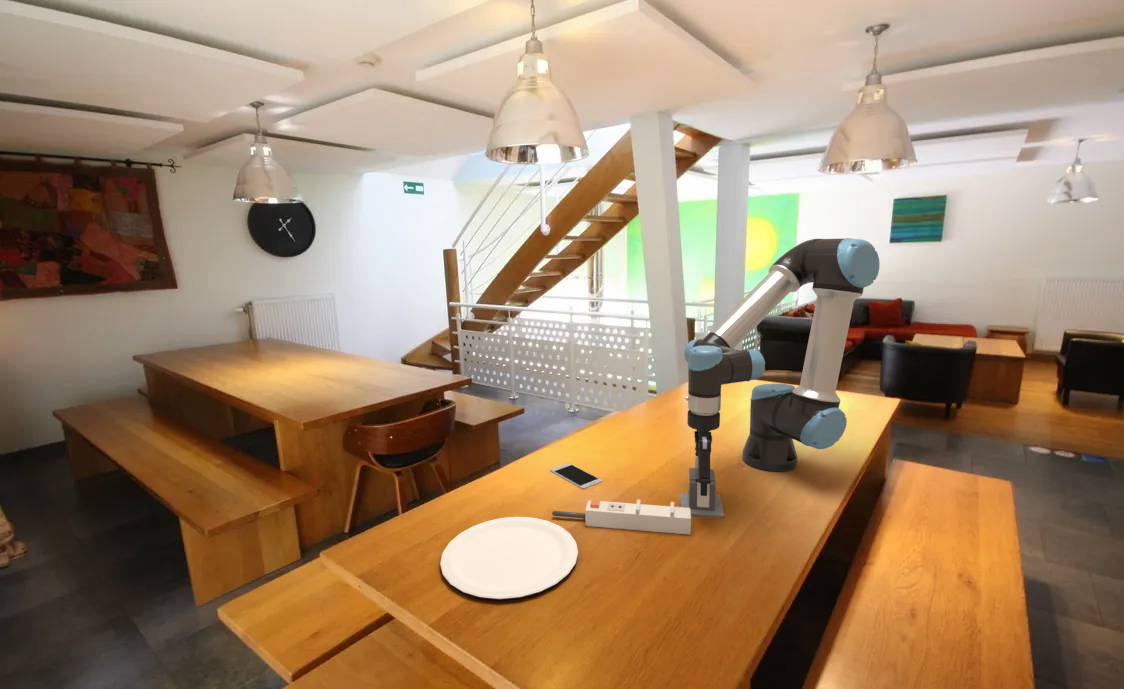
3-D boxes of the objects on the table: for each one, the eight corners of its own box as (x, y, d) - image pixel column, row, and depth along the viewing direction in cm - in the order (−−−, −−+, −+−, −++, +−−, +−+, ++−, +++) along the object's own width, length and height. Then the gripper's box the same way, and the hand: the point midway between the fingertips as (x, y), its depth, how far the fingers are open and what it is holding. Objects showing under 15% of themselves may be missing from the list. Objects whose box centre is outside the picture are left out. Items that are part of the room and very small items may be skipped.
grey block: (713, 498, 134) (713, 469, 132) (714, 511, 128) (715, 480, 126) (688, 497, 135) (688, 467, 133) (688, 509, 129) (689, 478, 127)
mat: (720, 497, 135) (720, 495, 135) (723, 518, 126) (724, 515, 125) (680, 495, 137) (680, 492, 137) (680, 514, 128) (680, 512, 127)
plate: (525, 626, 93) (525, 617, 93) (410, 574, 108) (409, 567, 108) (602, 543, 117) (602, 536, 117) (499, 511, 133) (499, 504, 132)
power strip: (689, 523, 124) (690, 503, 123) (690, 534, 119) (691, 513, 118) (554, 512, 130) (553, 493, 129) (550, 522, 126) (549, 502, 125)
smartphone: (568, 465, 158) (568, 462, 158) (603, 483, 146) (603, 480, 146) (549, 471, 154) (549, 468, 153) (583, 491, 142) (583, 488, 141)
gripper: (686, 394, 139) (684, 470, 143) (689, 428, 115) (687, 517, 120) (716, 395, 137) (713, 472, 142) (724, 429, 114) (721, 520, 118)
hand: (701, 493), depth 131 cm, fingers open, 12 cm apart
